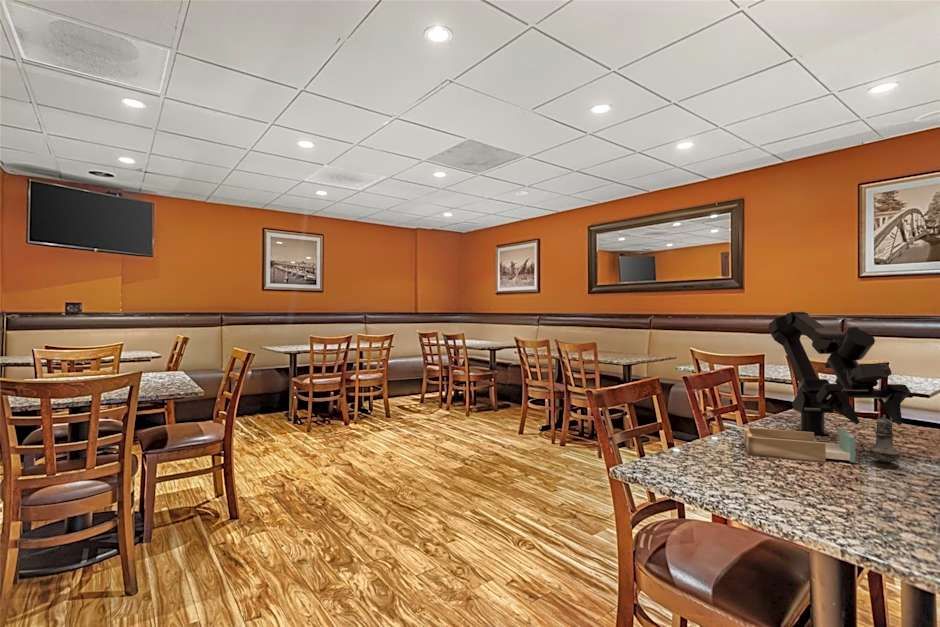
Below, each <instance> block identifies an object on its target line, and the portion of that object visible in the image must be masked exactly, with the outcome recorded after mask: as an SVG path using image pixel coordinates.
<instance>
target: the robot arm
mask: <svg viewBox="0 0 940 627" xmlns="http://www.w3.org/2000/svg"><path fill="white" fill-rule="evenodd" d="M767 327H768V332H769V334H770V336H771V337H772V339H773V340H774V341H775V342H776V343H777V344H779V345H781V346H782V347H783V349H784V351H785V354H786V356H787V358H788V361H789V363H790V366H791V367H792V370H793V372H794V375H795V377H796V379H797V381H798V383H799V385H798V387H797V390H796V396H795V398H794V400H792V402H791V404H792V410H793V411H796V412H799V413H800V426H797V431H804V432H814V435H819V436H829V435H830V434H829V433H828V432H827V431H826V429H825V427H826V426H825V424H826V423H825V421H826V420H825V419H826V418H825V414H828V413H829V414H833V413H834V411H835V412H837V413H839V414H840V415H842V416H843V417H845V419H847V420H849V421H850V422H852V423H853V424H854V425H858V424H859V423H860V419H859V417H858V416H857V414H856V412H855V410H854V409H853V406H852V405H851V402H850V401H849V398H854V399H877V400H878V401H879V403H880V404H882V405H881V408H882V410H884V411H885V413H886V414H887V415H888V416H889V417H890V418H891V420H892V421H893V422H895V424H896V425H898V426H900V425H902V424H903V418H902V411H901V403H902V402H904V400H905V399H907V397H908V396H910V394H911V393H912V392H911V390H910V389H909V387H908V385H906V384H902V383H886V384H885V385H884V387H883V388H881V389H875V388H874V387H877V386H878V385H879V382H878V381H880V380H882V379H886V378H887V377H890V376H891V375H892V373H893V372H892V369H891V367H890V366H889V365H888V364H887V363H886V362H879V363H877V364H861V365H860V364H859V362H858V361H861V360H863V359H864V358H865V357H866V355H867V354H868V352H869V351H870V350H871V348H872V347H873V346H874V345H875V342H876V339H875V337H874V336H873V335H871V334H869V333H868V332H866V331H864V330H861V329H860V328H859V327H858V326H854V327H852V326H851V327H850V326H848V328H847V330H846V333H844V332H842V331H838V330H835V329H829V328H827V327H825V326H824V325H822V323H820V322H819V321H817V320H816V319H814V318H812V317H811V316H810V315H809V314H808V312H805V311H790V312H787V313H786V314H785V315H782V316H780V317H777V318H774V319H773V320H772V321H771V322H769V324H768V326H767ZM802 334H804V335H805V336H806V337H807V338H808V339H810V340H811V341H812V342H811V347H812V348H813V349H814V350H815V351H816V352H817V353H818V354H819V355H829V356H828V357H827V359H826V362H825V364H824V365H825V366H824V367H825V369H832V372H833V373H834V375H835V377H836V379H835V381H834V382H835V383H830V382H829V380H828V379H827V378H826V379H825V378H822V379H821V378H819V377H818V375H817V373H816V371H815V369H814V367H813V365H812V362H811V361H810V358H809V356H808V355H807V352H806V350H805V348H804V346H803V344H802V341H801V338H802V337H801V336H802Z"/></svg>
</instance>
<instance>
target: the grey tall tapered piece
mask: <svg viewBox="0 0 940 627" xmlns="http://www.w3.org/2000/svg"><path fill="white" fill-rule="evenodd" d="M892 421H893V420H892V419H890V418H887V416H886V414H883V415H882V417H880V418H877V420H876V431H875V432H874V435H875V444H874V445H873V446H872V445H871V446H868V451H869V454H870V455H871V457H872V458H873V460H871V461H869V464H870V465H872V466H873V467H877V468H883V469H887V470H899V469H900V465H898V464H896V463H895V462H896V461H898V460H899V458H900V455H901V454H902V452H901V451H900V450H898V449H896V448H895V445H894V440H893V439H894V437H895V434H894V433H893V422H892Z"/></svg>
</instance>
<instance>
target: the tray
mask: <svg viewBox="0 0 940 627" xmlns="http://www.w3.org/2000/svg"><path fill="white" fill-rule="evenodd" d="M772 439H775V438H772ZM784 440H787V439H784ZM796 441H799V440H796ZM808 442H811V441H808ZM819 442H820V441H819ZM820 443H825V444H826V459H829V460H830V459H831V460H841V461H848V462H849V463H856V436H854V435H852V434H851V433H850V432H849V431H847V430H846V429H845V428H842V427H841V428H840V427H838V443H834V442H833V443H832V442H822V441H821V442H820Z"/></svg>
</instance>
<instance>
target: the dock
mask: <svg viewBox="0 0 940 627" xmlns="http://www.w3.org/2000/svg"><path fill="white" fill-rule="evenodd" d="M742 430H743V431H742V433H743V438H742V439H743V440H742V441H743V442H742V443H743V445H744V447H745V450H746V451H747V454H748V456H755V457H756V456H757V457H767V458H778V459H787V460H788V459H789V460H795V461H796V460H797V461H808V462H818V463H826V462H827V461H826V459H827V458H826V444H825V443H826V442H823V443H820V441H815V434H814V432H804V431H799V430H789V429H776V428H775V429H774V428H764V427H763V428H761V427H751V426H750V427H749V426H743V428H742ZM772 438H775V439H772ZM784 439H787V440H784ZM796 440H799V441H796ZM808 441H811V442H808Z"/></svg>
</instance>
